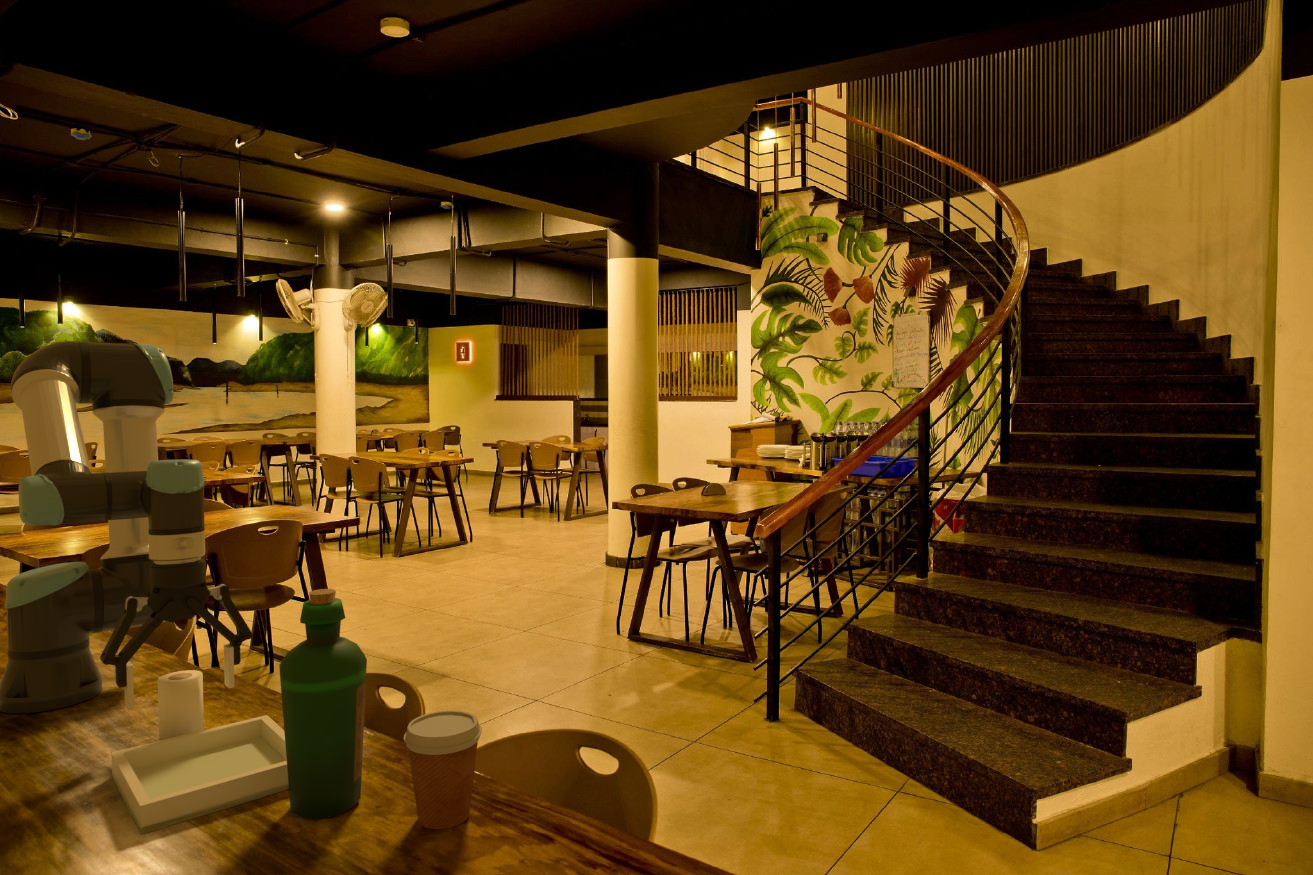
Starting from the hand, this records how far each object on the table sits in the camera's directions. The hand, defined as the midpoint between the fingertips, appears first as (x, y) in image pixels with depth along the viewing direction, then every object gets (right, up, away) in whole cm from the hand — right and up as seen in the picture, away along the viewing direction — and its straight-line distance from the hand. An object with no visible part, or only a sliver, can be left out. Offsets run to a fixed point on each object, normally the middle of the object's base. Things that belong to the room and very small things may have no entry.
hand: (181, 696), depth 124 cm
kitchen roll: (0, -7, +1) cm, 7 cm away
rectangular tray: (+12, -7, -13) cm, 19 cm away
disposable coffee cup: (+47, -8, -23) cm, 53 cm away
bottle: (+31, -8, -20) cm, 37 cm away
